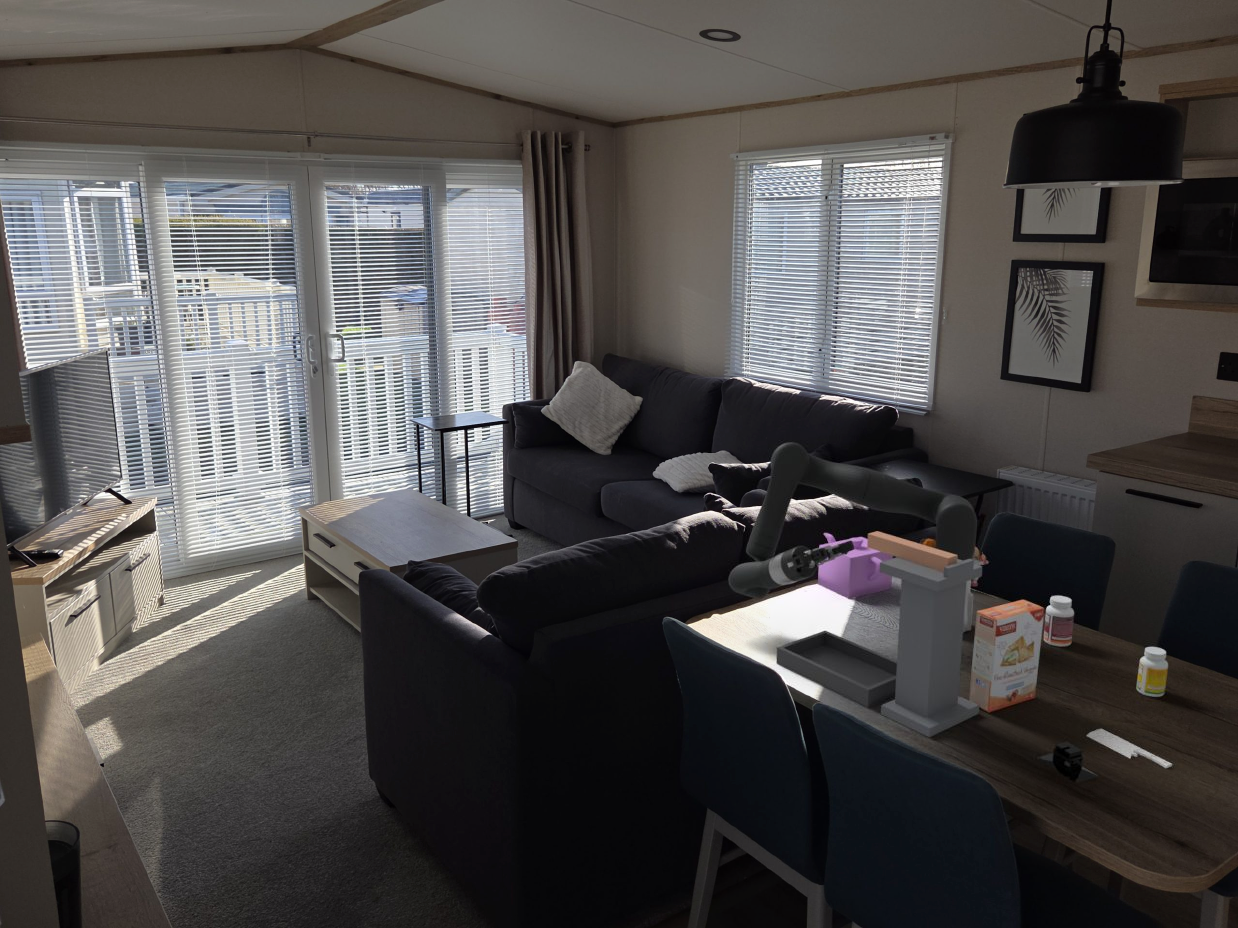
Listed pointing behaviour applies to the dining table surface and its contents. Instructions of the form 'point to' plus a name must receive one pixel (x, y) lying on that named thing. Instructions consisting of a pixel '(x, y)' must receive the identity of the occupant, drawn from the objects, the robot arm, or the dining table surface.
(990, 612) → the cracker box
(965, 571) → the stand
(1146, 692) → the supplement bottle
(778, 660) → the tray
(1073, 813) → the dining table surface
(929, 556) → the bar
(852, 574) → the teapot
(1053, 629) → the pill bottle
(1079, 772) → the black knife sharpener
